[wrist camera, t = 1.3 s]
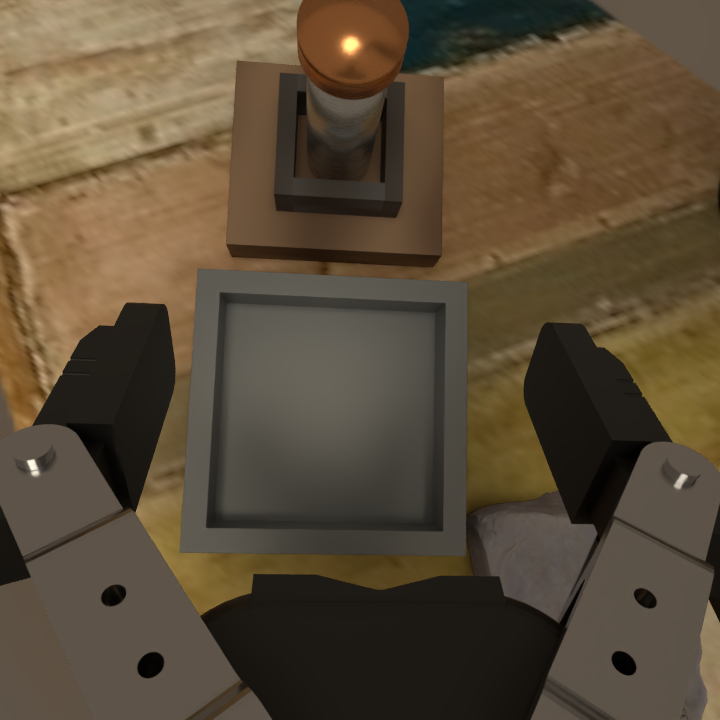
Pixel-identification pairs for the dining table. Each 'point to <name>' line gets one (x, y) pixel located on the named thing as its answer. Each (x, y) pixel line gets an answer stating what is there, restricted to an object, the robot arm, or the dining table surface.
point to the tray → (326, 416)
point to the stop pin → (347, 78)
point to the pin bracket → (334, 197)
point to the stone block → (545, 562)
